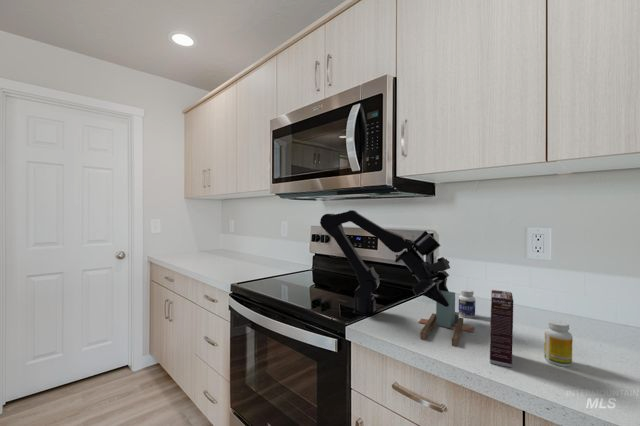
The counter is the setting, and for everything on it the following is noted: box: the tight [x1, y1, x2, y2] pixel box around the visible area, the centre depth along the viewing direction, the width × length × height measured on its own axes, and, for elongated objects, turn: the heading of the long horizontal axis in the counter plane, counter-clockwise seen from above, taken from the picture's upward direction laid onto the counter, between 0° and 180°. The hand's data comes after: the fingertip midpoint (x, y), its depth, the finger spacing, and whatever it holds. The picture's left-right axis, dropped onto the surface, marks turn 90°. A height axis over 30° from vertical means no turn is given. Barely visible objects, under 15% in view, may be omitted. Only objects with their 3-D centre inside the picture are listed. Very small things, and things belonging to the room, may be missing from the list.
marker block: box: [435, 290, 456, 329], centre depth 100 cm, size 4×4×10 cm
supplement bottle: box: [543, 319, 573, 368], centre depth 76 cm, size 5×5×10 cm
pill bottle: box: [457, 288, 476, 319], centre depth 109 cm, size 5×5×9 cm
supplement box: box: [489, 289, 514, 368], centre depth 77 cm, size 9×5×16 cm, turn 151°
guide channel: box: [418, 311, 475, 347], centre depth 96 cm, size 16×21×3 cm
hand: (450, 304), depth 99 cm, fingers closed on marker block, 4 cm apart
